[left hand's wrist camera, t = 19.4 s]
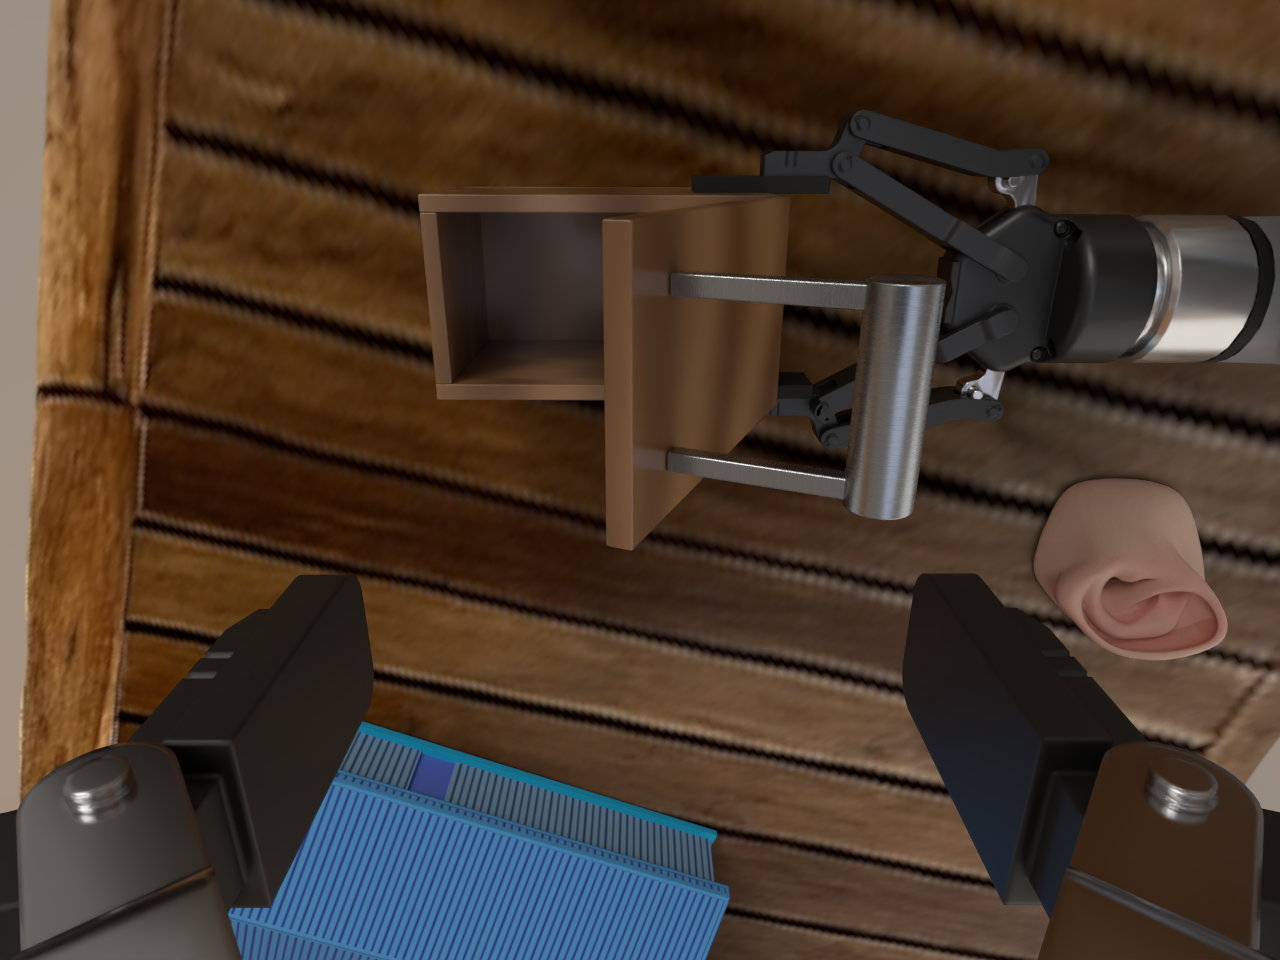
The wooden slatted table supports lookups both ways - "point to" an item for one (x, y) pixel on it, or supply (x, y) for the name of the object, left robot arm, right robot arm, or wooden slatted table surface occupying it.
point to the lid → (746, 363)
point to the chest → (526, 285)
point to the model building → (483, 868)
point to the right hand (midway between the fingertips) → (690, 289)
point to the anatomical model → (1130, 569)
